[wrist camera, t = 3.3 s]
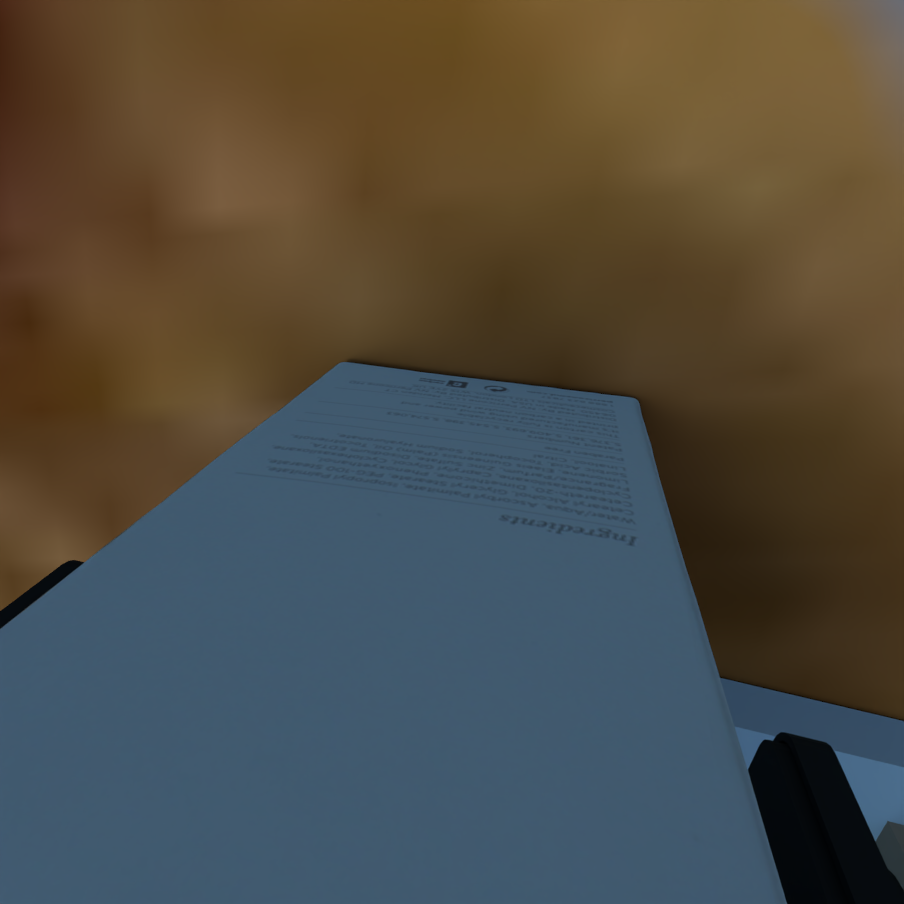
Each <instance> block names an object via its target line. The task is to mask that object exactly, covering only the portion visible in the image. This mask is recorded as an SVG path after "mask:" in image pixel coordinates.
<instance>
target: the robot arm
mask: <svg viewBox="0 0 904 904" xmlns="http://www.w3.org/2000/svg"><path fill="white" fill-rule="evenodd" d="M83 563H84V562H80V561H76V560H72V561H68V562H66V563H64V564H62V565H61V566H60V567H58V568H57V569H56V570H54V571H53V572H52V573H50V574H49V575H48V576H46V577H45V578H44V579H42V580H41V581H40V582H38V583H37V584H36V585H34V586H33V587H32V588H30V589H29V590H28V591H27V592H25V593H24V594H23V595H21V596H20V597H19V598H17V599H16V600H15V601H13V602H12V603H11V604H9V605H8V606H7V607H5V608H4V609H3V610H1V611H0V629H1V628H2V627H3V626H4V625H6V624H7V623H8V622H9V621H11V620H12V619H13V618H15V617H16V616H17V615H18V614H20V613H21V612H22V611H23V610H25V609H26V608H27V607H28V606H30V605H31V604H32V603H33V602H35V601H36V600H37V599H39V598H40V597H41V596H42V595H44V594H45V593H46V592H48V591H49V590H50V589H51V588H53V587H54V586H55V585H56V584H58V583H59V582H60V581H62V580H63V579H64V578H65V577H67V576H68V575H69V574H70V573H72V572H73V571H74V570H76V569H77V568H78V567H79V566H81V565H82V564H83ZM748 773H749V776H750V780H751V783H752V786H753V790H754V793H755V797H756V800H757V804H758V807H759V811H760V814H761V818H762V821H763V824H764V828H765V831H766V835H767V838H768V842H769V845H770V849H771V852H772V855H773V859H774V862H775V865H776V869H777V872H778V875H779V879H780V882H781V885H782V889H783V892H784V895H785V899H786V902H787V904H904V890H903V888H902V887H901V885H900V883H899V881H898V880H897V878H896V876H895V875H894V874H893V873H892V872H891V871H890V870H888V868H887V866H886V864H885V862H884V859H883V857H882V855H881V853H880V851H879V848H878V846H877V844H876V842H875V840H874V837H873V835H872V833H871V831H870V828H869V826H868V824H867V822H866V820H865V817H864V815H863V813H862V811H861V809H860V806H859V804H858V802H857V800H856V798H855V795H854V793H853V791H852V789H851V787H850V784H849V782H848V780H847V778H846V776H845V773H844V771H843V769H842V767H841V764H840V762H839V760H838V758H837V756H836V753H835V752H834V750H833V748H832V747H831V746H830V745H829V744H828V743H826V742H823V741H819V740H815V739H811V738H806V737H802V736H798V735H794V734H790V733H786V732H780V733H779V734H777V735H776V737H775V738H774V740H773V741H771V740H766V739H765V740H763V741H762V742H761V744H760V745H759V747H758V749H757V751H756V753H755V756H754V758H753V760H752V762H751V764H750V766H749V768H748Z"/></svg>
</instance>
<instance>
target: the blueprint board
mask: <svg viewBox="0 0 904 904" xmlns="http://www.w3.org/2000/svg"><path fill="white" fill-rule="evenodd" d="M720 680H721V683H722V686H723V690H724V693H725V696H726V700H727V703H728V706H729V710H730V713H731V716H732V720H733V723H734V726H735V730H736V733H737V736H738V740H739V743H740V746H741V750H742V753H743V756H744V759H745V763H746V766H747V769H748V768H749V766H750V764H751V762H752V760H753V758H754V756H755V753H756V751H757V749H758V747H759V745H760V744H761V742H762V741H763V740H765V739H766V740H771V741H773V740H774V738H775V737H776V735H777V734H779V733H780V732H786V733H790V734H794V735H798V736H802V737H806V738H811V739H815V740H819V741H823V742H826V743H828V744H829V745H830V746H831V747H832V748H833V750H834V752H835V753H836V756H837V758H838V760H839V762H840V764H841V767H842V769H843V771H844V773H845V776H846V778H847V780H848V782H849V784H850V787H851V789H852V791H853V793H854V795H855V798H856V800H857V802H858V804H859V806H860V809H861V811H862V813H863V815H864V817H865V820H866V822H867V824H868V826H869V828H870V831H871V833H872V835H873V837H874V840H875V841H876V839H877V838H878V836H879V835H880V833H881V831H882V830H883V828H884V826H885V825H886V823H887V821H889V822H893V823H897V824H901V825H904V721H901V720H897V719H893V718H889V717H884V716H880V715H876V714H872V713H867V712H863V711H859V710H855V709H850V708H846V707H842V706H838V705H833V704H829V703H825V702H821V701H816V700H812V699H808V698H804V697H799V696H795V695H791V694H787V693H783V692H778V691H774V690H770V689H766V688H761V687H757V686H753V685H749V684H744V683H740V682H736V681H732V680H727V679H723V678H720Z"/></svg>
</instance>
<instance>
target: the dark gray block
mask: <svg viewBox="0 0 904 904" xmlns="http://www.w3.org/2000/svg"><path fill="white" fill-rule="evenodd" d="M875 842H876V844H877V846H878V848H879V851H880V853H881V855H882V857H883V859H884V862H885V864H886V866H887V868H888V870H890V871H891V872H892V873H893V874H894V875H895V876H896V878H897V880H898V881H899V883H900V885H901V887H902V888H903V890H904V825H901V824H897V823H893V822H889V821H887V823H886V825H885V826H884V828H883V830H882V831H881V833H880V835H879V836H878V838H877V839H876V841H875Z"/></svg>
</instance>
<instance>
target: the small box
mask: <svg viewBox="0 0 904 904" xmlns="http://www.w3.org/2000/svg"><path fill="white" fill-rule="evenodd" d="M0 904H787V902H786V899H785V895H784V892H783V889H782V885H781V882H780V879H779V875H778V872H777V869H776V865H775V862H774V859H773V855H772V852H771V849H770V845H769V842H768V838H767V835H766V831H765V828H764V824H763V821H762V818H761V814H760V811H759V807H758V804H757V800H756V797H755V793H754V790H753V786H752V783H751V780H750V776H749V773H748V769H747V766H746V763H745V759H744V756H743V753H742V750H741V746H740V743H739V740H738V736H737V733H736V730H735V726H734V723H733V720H732V716H731V713H730V710H729V706H728V703H727V700H726V696H725V693H724V690H723V686H722V683H721V680H720V676H719V673H718V670H717V667H716V663H715V660H714V657H713V653H712V650H711V647H710V643H709V640H708V637H707V633H706V630H705V627H704V623H703V620H702V617H701V613H700V610H699V606H698V603H697V600H696V597H695V594H694V591H693V588H692V585H691V582H690V579H689V576H688V573H687V570H686V566H685V563H684V560H683V556H682V553H681V549H680V546H679V543H678V539H677V536H676V533H675V529H674V526H673V523H672V519H671V516H670V513H669V509H668V506H667V502H666V499H665V496H664V492H663V489H662V485H661V482H660V478H659V475H658V471H657V467H656V464H655V460H654V456H653V451H652V447H651V443H650V440H649V437H648V434H647V430H646V427H645V423H644V420H643V418H642V413H641V409H640V404H639V401H638V400H636V399H635V398H631V397H624V396H616V395H606V394H599V393H592V392H582V391H574V390H565V389H558V388H552V387H543V386H533V385H525V384H517V383H509V382H500V381H491V380H483V379H475V378H467V377H457V376H449V375H441V374H433V373H424V372H417V371H410V370H403V369H395V368H387V367H380V366H372V365H364V364H357V363H350V362H341V363H339V364H337V365H336V366H335V367H333V368H332V369H331V370H330V371H329V372H327V373H326V374H324V375H323V376H322V377H321V378H320V379H318V380H317V381H316V382H314V383H313V384H312V385H310V386H309V387H308V388H307V389H306V390H305V391H303V392H302V393H301V394H299V395H298V396H297V397H296V398H294V399H293V400H292V401H290V402H289V403H288V404H287V405H285V406H284V407H283V408H282V409H280V410H279V411H278V412H277V413H275V414H274V415H272V416H271V417H270V418H268V419H267V420H265V421H264V422H263V423H261V424H260V425H259V426H257V427H256V428H255V429H254V430H252V431H251V432H250V433H248V434H247V435H246V436H244V437H243V438H242V439H241V440H239V441H238V442H237V443H235V444H234V445H233V446H232V447H230V448H229V449H228V450H226V451H225V452H224V453H223V454H221V455H220V456H219V457H218V458H216V459H215V460H214V461H212V462H211V463H210V464H209V465H207V466H206V467H205V468H204V469H202V470H201V471H200V472H199V473H197V474H196V475H195V476H194V477H192V478H191V479H190V480H189V481H187V482H186V483H185V484H184V485H182V486H181V487H180V488H179V489H177V490H176V491H175V492H174V493H172V494H171V495H170V496H169V497H168V498H166V499H165V500H164V501H163V502H161V503H160V504H159V505H158V506H156V507H155V508H154V509H153V510H151V511H150V512H148V513H147V514H145V515H144V516H143V517H141V518H140V519H139V520H138V521H136V522H135V523H134V524H133V525H131V526H130V527H129V528H128V529H126V530H125V531H124V532H122V533H121V534H120V535H119V536H117V537H116V538H115V539H113V540H112V541H111V542H109V543H108V544H107V545H106V546H104V547H103V548H102V549H101V550H99V551H98V552H97V553H96V554H94V555H93V556H92V557H91V558H89V559H88V560H87V561H86V562H84V563H83V564H82V565H81V566H79V567H78V568H77V569H76V570H74V571H73V572H72V573H70V574H69V575H68V576H67V577H65V578H64V579H63V580H62V581H60V582H59V583H58V584H56V585H55V586H54V587H53V588H51V589H50V590H49V591H48V592H46V593H45V594H44V595H42V596H41V597H40V598H39V599H37V600H36V601H35V602H33V603H32V604H31V605H30V606H28V607H27V608H26V609H25V610H23V611H22V612H21V613H20V614H18V615H17V616H16V617H15V618H13V619H12V620H11V621H9V622H8V623H7V624H6V625H4V626H3V627H2V628H1V629H0Z"/></svg>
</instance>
